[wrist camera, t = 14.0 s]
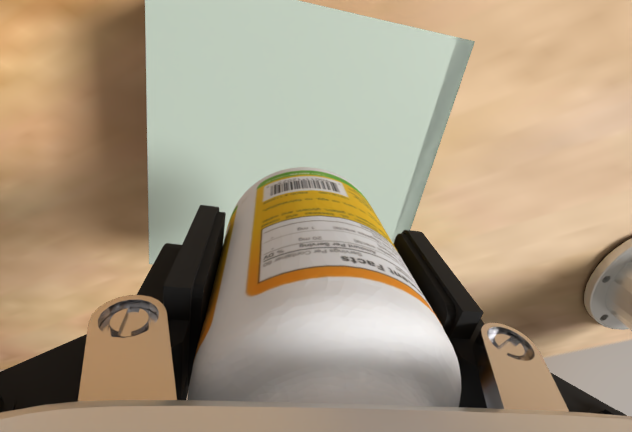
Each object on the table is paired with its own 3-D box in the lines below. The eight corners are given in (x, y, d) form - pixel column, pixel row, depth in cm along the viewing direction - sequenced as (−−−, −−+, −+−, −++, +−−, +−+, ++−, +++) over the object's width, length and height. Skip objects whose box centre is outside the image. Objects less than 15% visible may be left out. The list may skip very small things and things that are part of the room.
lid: (442, 41, 22) (474, 41, 18) (376, 256, 29) (390, 286, 25) (168, -21, 19) (144, -36, 16) (166, 233, 26) (149, 264, 22)
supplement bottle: (298, 312, 15) (332, 699, 6) (196, 233, 13) (24, 655, 4) (401, 233, 14) (627, 576, 5) (307, 130, 11) (412, 414, 3)
